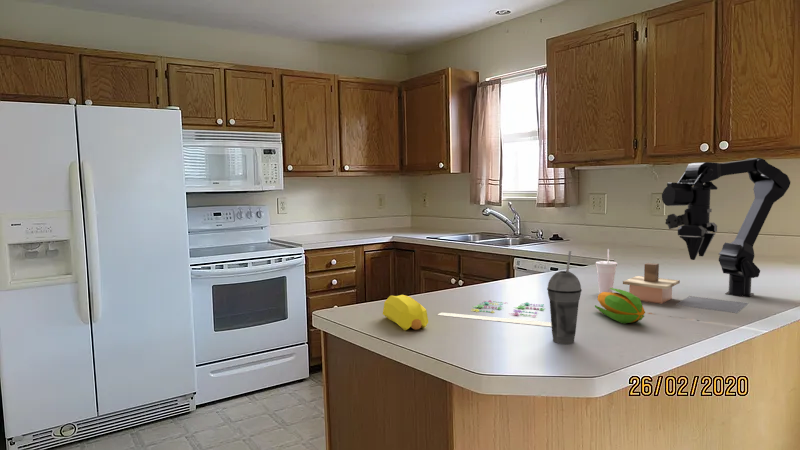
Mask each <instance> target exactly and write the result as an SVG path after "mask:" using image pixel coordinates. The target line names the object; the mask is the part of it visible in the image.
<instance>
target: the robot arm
mask: <svg viewBox="0 0 800 450" xmlns="http://www.w3.org/2000/svg"><path fill="white" fill-rule="evenodd" d="M745 173H747V174H748V177H749V178H748V179H749V180H750V181H751V182H752V183H753V184H754V185H753V189H752V190H753V194H754V195H753V196H754V199H753V200H752V203H751V205H750V208H749V209H748V212H747V214H746V216H745V217H744V220H743V222H742V225H741V226H740V228H739V231H738V232H737V235H736V236H735V238H734V240H733V241H732V242H725V243H724V244H723V245H722V248H721V250H720V251H719V253H718V255H719V256H718V262H719V264H720V267H721V271H722V273H723V274H726V275H727V274H728V275H729V276H728V290H727V292H726V293H724V295H728V296H737V297H745V298H750V297H752V296H754V295H755V293H754V292H752V279H755V278H759V276H760V274H761V270H760V268H759V267H758V266H757V265H756V264H755V263H754V258H755V251H754V250H755V249H754V245H755V243H756V241H757V239H758V237H759V235H760V233H761V231H762V228H763V227H764V224H765V221H766V219H767V218H768V215H769V213H770V212H771V210H772V207H773V205H774V204H775V203H776V202H777V201H778V200H780V199H781V198H782V197H784V196H785V194H786V192H787V191H788V190H789V188H790V185H791V180H790V177H789V175H788V174H786V173H784V172H783V170H781V169H780V168H778V167H777V166H774V165H772V164H770V163H768V161H766V159H764V158H762V157H753V158H752V157H751V158H750V157H749V158H746V159H743V160H736V161H735V160H734V161H726V162H720V163H719V162H712V161H711V162H710V161H709V162H708V161H707V162H706V161H705V162H704V161H703V162H691V163H688V164H687V166H686V168H685V170H684V173H682V175H681V177H680V178H679V179H678V181H677V182H667V184H666V187H665V188H664V189H663V191H662V193H661V201H662V203H663V204H664V205H665V206H668V207H670V206H671V207H674V206H675V207H677V206H681V207H682V206H683V207H684V206H687V208H685V209H684V213H683V214H679V215H676V214H675V213H670V214H668V215H667V217H666V219H665V225H666V226H667V227H668V230H672V229H675V228H677V236H679V238H680V239H682V240H683V241H684V242H685V244H686V248H687V251H688V254H689V255H688V256H689V259H690V260H691V261H694V260H696V258H697V256H699V257H704V256H705V254H706V252H707V251H708V248H709V246H710V244H711V243H712V241H713V239H714V237H715V236H716V233H717V232H718V225H717V224H716V223H715V222H711V221H710V220H711V219H710V216H711V215H710V214H711V213H712V210H713V209H712V208H711V190H718V187H717V186H716V185H715V184H714V183H713V182H712V181H715V180H718V179H720V178H722V177H724V176H730V175H731V176H732V175H739V174H745Z"/></svg>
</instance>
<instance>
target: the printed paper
mask: <svg viewBox="0 0 800 450" xmlns="http://www.w3.org/2000/svg"><path fill="white" fill-rule="evenodd" d="M504 304H507V302H503V301H496V300H495V301H492V300H491V299H490V300H485V301H483V302H481V303H479V304H477V305H475V306H473V305H472V307H473V308H471V309H470V311H471V312H476V313H479V312H483V313H484V312H485V313H492V314H493V313H494V314H495V310H502V309H503V310H504V307H502V306H503V305H504ZM488 305H490V306H488ZM491 305H492V306H491ZM493 305H497V306H498V307H497V306H493ZM499 305H500V306H499ZM501 305H502V306H501ZM529 305H530V306H531V307H529ZM544 305H545V304H535V303H534V304H533V303H530V302H524V303H521V304H520V305H518V306H516V307H513V308H514V309H513V312H514V313H513V312H512V313H508V315H513V316H517V317H518V316H519V315H520V316H525V317H526V316H527V317H537V315H536V314H538V310H539V311H545V310H547V309H546V308H545V307H543V306H544ZM532 306H534V307H532ZM535 306H539V307H535ZM540 306H542V307H540ZM482 308H486V309H487V308H488V309H492V310H491V311H490V310H481V309H482ZM494 309H495V310H494ZM517 309H518V310H517ZM520 309H521V310H520ZM523 309H525V310H527V309H528V310H529V309H531V310H532V309H533V310H536V311H535V312H533V311H529V312H528V311H524V310H523ZM522 310H523V311H522ZM524 313H528V314H524ZM533 314H534V315H533ZM437 316H445V317H454V318H461V319H462V318H463V319H475V320H483V321H490V322H491V321H493V322H494V321H495V322H502V323H511V324H512V323H514V324H521V325H532V326H542V327H551V328H552V326H551V321H539V320H528V319H517V318H516V319H515V318H509V317H508V318H507V317H506V318H505V317H504V318H503V317H496V316H495V317H494V316H486V315H485V316H484V315H473V314H463V313H462V314H461V313H454V312H453V313H452V312H439V313H438V314H437Z"/></svg>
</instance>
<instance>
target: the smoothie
mask: <svg viewBox="0 0 800 450" xmlns="http://www.w3.org/2000/svg"><path fill="white" fill-rule="evenodd" d="M606 255H607V260H599V261H598V260H597V261H596V262H595V266H596V271H597V284H598V292H599V294H600V293H602V292H613V291H614V290H612V289H610V288H614V285H615V284H614V283H615V276H616V270H617V267H618V262H615V261H610V248H607V254H606Z"/></svg>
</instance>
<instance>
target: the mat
mask: <svg viewBox="0 0 800 450" xmlns="http://www.w3.org/2000/svg"><path fill="white" fill-rule="evenodd" d="M748 304H749V302H744V301H735V300H727V299H719V298H709V297H701V296H693V295H689V296H687V297H686V298H683V299H682V300H680V301H678V302H677V303H675V304H674V306H680V307H688V308H697V309H703V310H709V311H717V312H725V313H734V314H738V313H739V312H740V311H741V310H743V309H744V308H745V307H746V306H747V305H748Z"/></svg>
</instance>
